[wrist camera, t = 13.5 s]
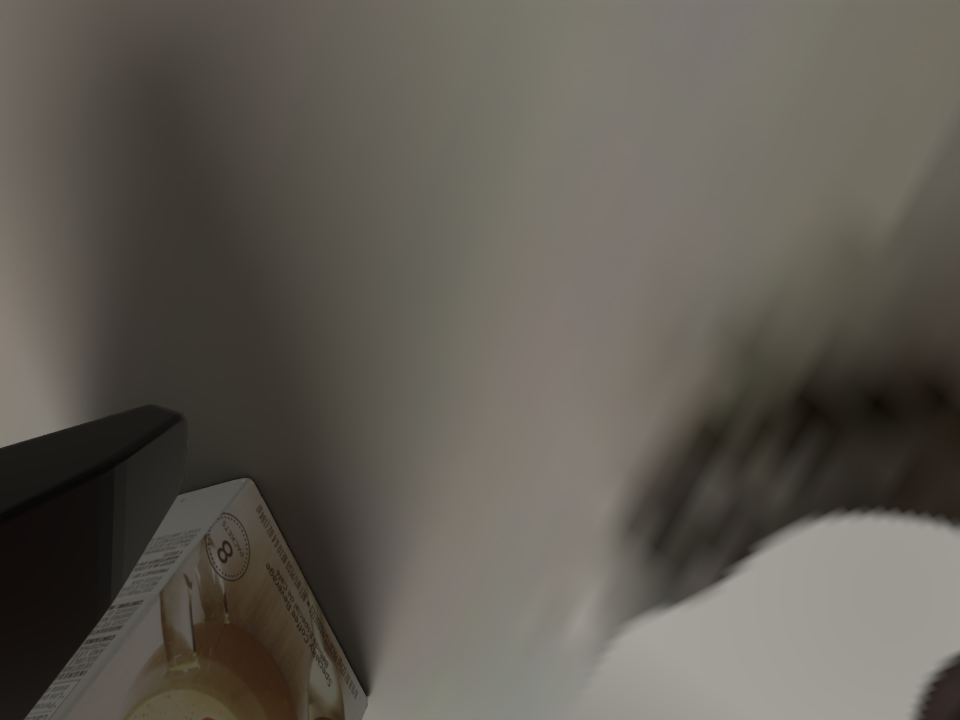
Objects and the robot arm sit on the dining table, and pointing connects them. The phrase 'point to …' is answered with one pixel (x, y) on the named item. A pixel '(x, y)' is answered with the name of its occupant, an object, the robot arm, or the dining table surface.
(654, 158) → the dining table surface
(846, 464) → the dining table surface
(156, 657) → the coffee box
